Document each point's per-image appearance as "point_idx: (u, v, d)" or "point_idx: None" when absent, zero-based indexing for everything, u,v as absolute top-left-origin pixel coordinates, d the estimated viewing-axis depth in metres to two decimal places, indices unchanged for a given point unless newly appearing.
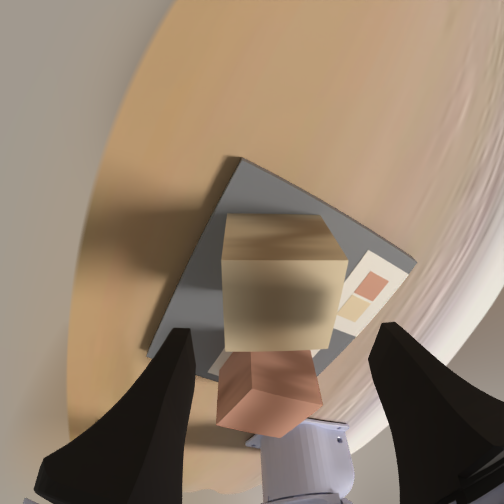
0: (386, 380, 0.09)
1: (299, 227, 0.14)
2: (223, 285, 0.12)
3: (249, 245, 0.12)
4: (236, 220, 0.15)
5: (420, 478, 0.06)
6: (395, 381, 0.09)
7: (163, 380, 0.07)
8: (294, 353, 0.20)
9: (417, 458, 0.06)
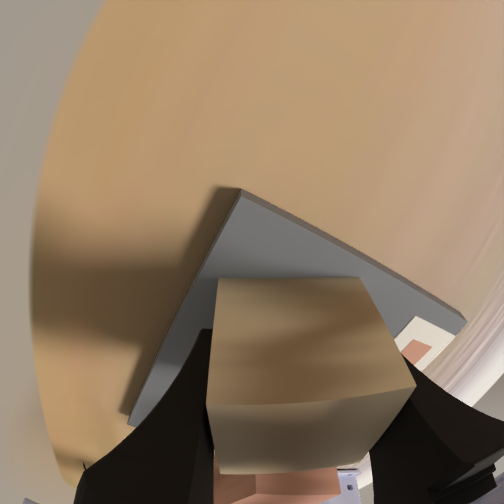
0: None
1: (333, 308, 0.09)
2: (212, 428, 0.06)
3: (255, 362, 0.07)
4: (232, 295, 0.09)
5: (393, 487, 0.06)
6: None
7: (200, 382, 0.07)
8: None
9: (389, 466, 0.06)
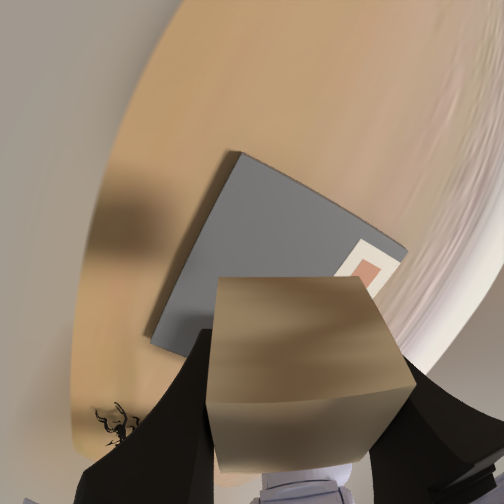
0: None
1: (333, 307, 0.09)
2: (212, 426, 0.06)
3: (256, 361, 0.07)
4: (232, 294, 0.09)
5: (393, 487, 0.06)
6: None
7: (200, 382, 0.07)
8: None
9: (389, 466, 0.06)
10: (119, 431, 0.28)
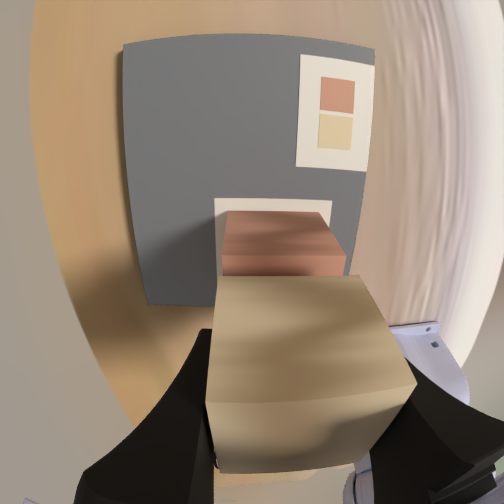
0: None
1: (333, 306, 0.09)
2: (212, 426, 0.06)
3: (255, 360, 0.07)
4: (232, 293, 0.09)
5: (393, 487, 0.06)
6: None
7: (200, 382, 0.07)
8: (293, 217, 0.15)
9: (389, 466, 0.06)
10: None
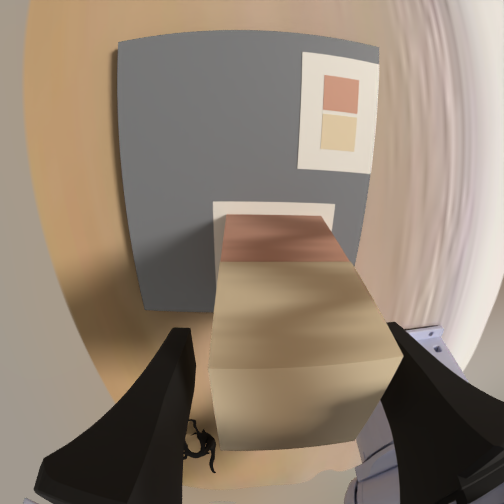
0: None
1: (326, 288, 0.10)
2: (213, 395, 0.07)
3: (253, 333, 0.08)
4: (233, 276, 0.10)
5: (421, 478, 0.06)
6: (395, 381, 0.09)
7: (163, 380, 0.07)
8: (295, 221, 0.15)
9: (417, 458, 0.06)
10: None
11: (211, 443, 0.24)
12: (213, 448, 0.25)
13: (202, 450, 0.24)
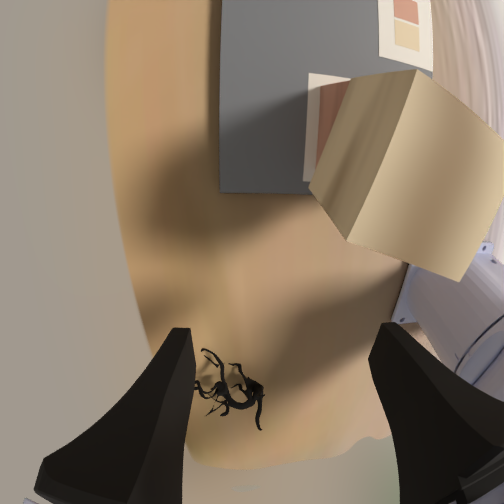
0: (386, 380, 0.09)
1: None
2: (405, 107, 0.06)
3: None
4: None
5: (420, 478, 0.06)
6: (395, 381, 0.09)
7: (163, 380, 0.07)
8: None
9: (417, 458, 0.06)
10: (220, 391, 0.24)
11: (261, 389, 0.23)
12: (261, 397, 0.24)
13: (250, 399, 0.23)
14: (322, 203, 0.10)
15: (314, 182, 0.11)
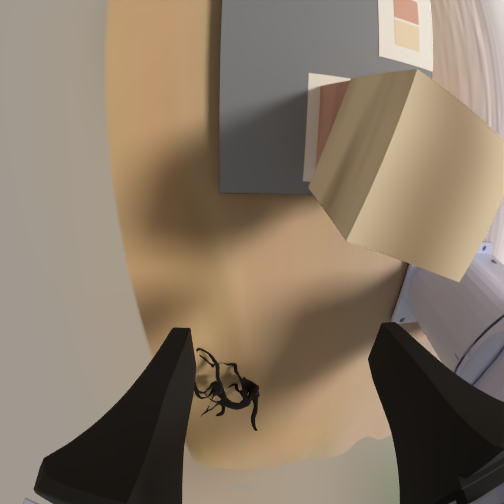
0: (386, 380, 0.09)
1: None
2: (405, 107, 0.06)
3: None
4: None
5: (420, 478, 0.06)
6: (395, 381, 0.09)
7: (163, 380, 0.07)
8: None
9: (417, 458, 0.06)
10: (215, 391, 0.24)
11: (256, 389, 0.23)
12: (257, 397, 0.24)
13: (245, 399, 0.23)
14: (322, 203, 0.10)
15: (314, 182, 0.11)
